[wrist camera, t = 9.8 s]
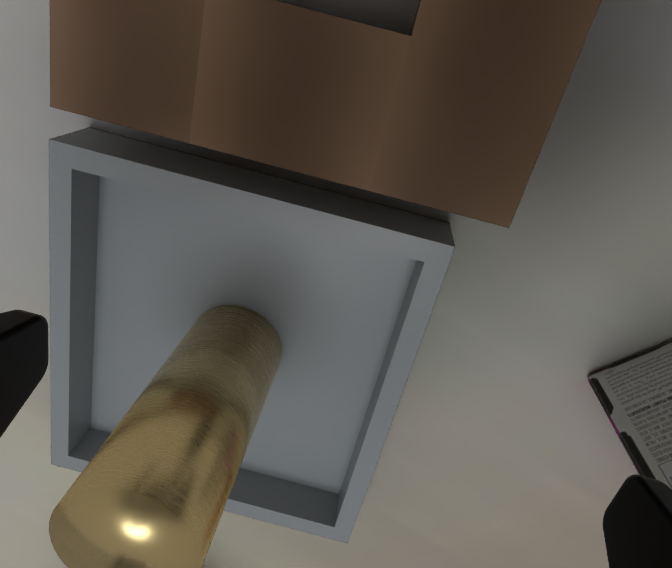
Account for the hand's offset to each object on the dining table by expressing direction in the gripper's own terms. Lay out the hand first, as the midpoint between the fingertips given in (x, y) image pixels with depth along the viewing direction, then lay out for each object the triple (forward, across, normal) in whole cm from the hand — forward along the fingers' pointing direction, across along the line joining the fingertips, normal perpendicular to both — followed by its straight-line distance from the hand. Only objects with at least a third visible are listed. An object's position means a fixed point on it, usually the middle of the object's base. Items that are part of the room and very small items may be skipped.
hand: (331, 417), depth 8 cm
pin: (+12, +4, +8) cm, 15 cm away
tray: (+13, +4, +8) cm, 16 cm away
